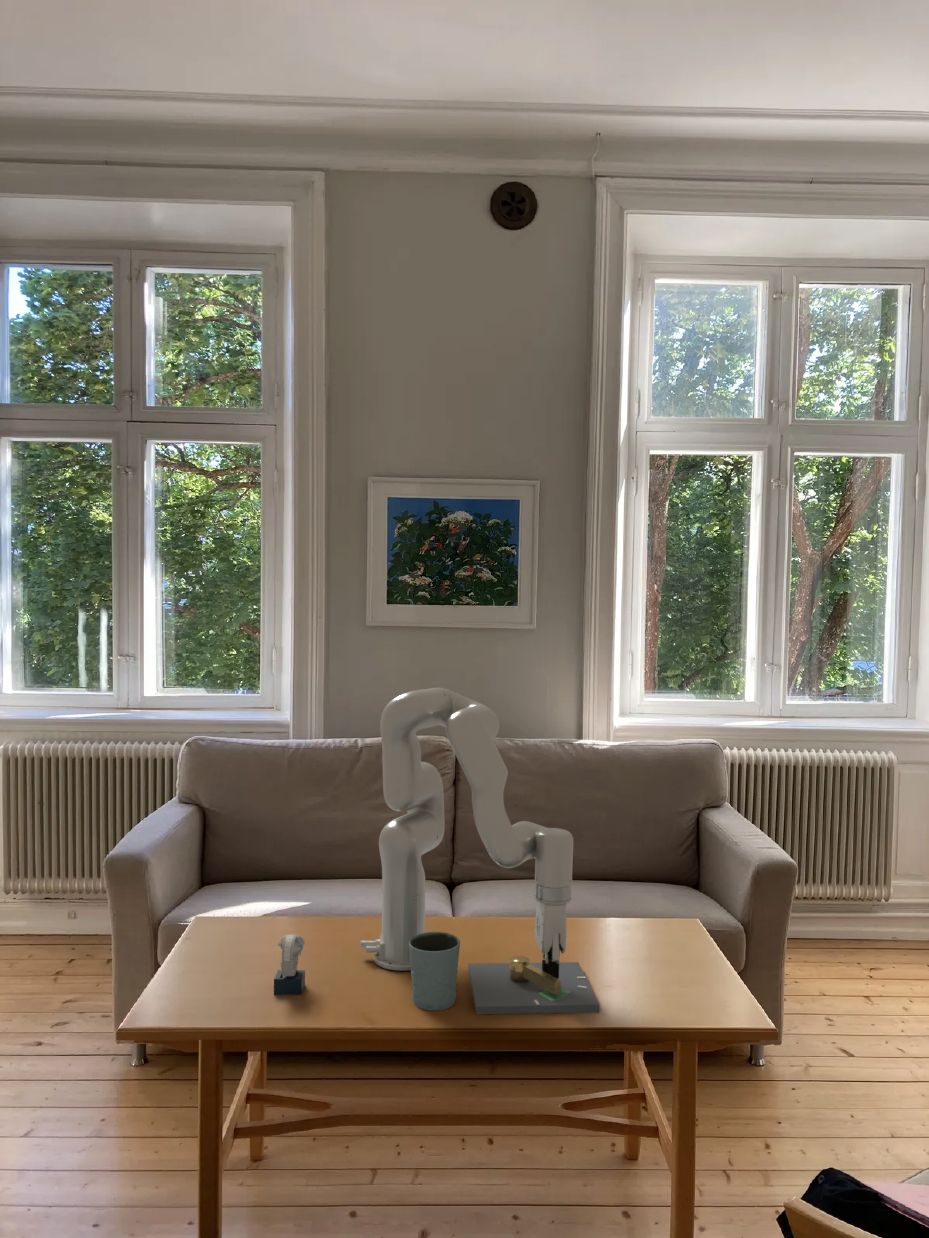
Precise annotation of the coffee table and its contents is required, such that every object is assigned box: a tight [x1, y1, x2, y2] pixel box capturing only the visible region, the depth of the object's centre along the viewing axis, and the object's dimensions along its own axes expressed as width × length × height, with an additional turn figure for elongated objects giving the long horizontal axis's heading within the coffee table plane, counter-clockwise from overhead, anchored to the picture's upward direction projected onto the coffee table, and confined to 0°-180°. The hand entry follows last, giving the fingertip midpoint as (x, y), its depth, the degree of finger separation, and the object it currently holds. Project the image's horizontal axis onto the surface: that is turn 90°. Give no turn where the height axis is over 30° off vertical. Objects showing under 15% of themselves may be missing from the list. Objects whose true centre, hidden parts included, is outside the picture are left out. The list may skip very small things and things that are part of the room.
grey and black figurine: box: [273, 933, 306, 996], centre depth 178 cm, size 6×8×11 cm
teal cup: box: [409, 931, 461, 1011], centre depth 174 cm, size 10×10×12 cm
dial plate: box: [467, 961, 600, 1015], centre depth 180 cm, size 24×20×2 cm
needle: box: [509, 955, 561, 994], centre depth 178 cm, size 14×4×4 cm, turn 37°
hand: (550, 980), depth 178 cm, fingers closed
